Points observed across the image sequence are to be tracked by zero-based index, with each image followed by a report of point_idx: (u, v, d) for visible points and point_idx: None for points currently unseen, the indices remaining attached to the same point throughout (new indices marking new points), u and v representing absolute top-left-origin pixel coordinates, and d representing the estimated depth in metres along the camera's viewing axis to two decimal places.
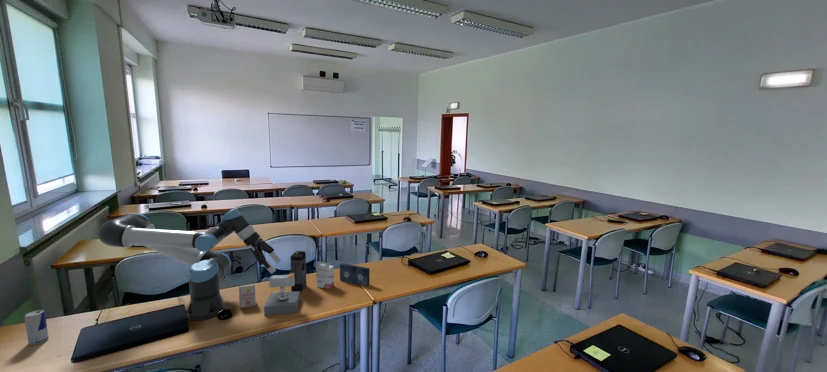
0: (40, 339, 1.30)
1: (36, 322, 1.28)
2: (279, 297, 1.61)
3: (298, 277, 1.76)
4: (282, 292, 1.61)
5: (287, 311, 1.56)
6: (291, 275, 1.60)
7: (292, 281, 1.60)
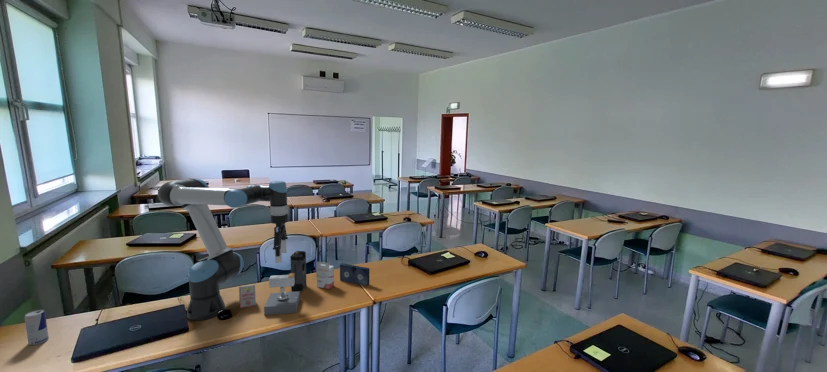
0: (40, 339, 1.30)
1: (36, 322, 1.28)
2: (279, 297, 1.61)
3: (298, 277, 1.76)
4: (282, 292, 1.61)
5: (287, 311, 1.56)
6: (291, 275, 1.60)
7: (292, 281, 1.60)
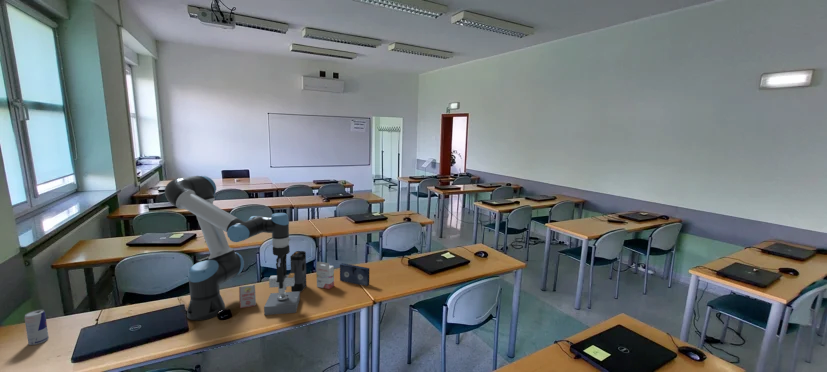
0: (40, 339, 1.30)
1: (36, 322, 1.28)
2: (279, 297, 1.61)
3: (298, 277, 1.76)
4: None
5: (287, 311, 1.56)
6: (291, 275, 1.60)
7: (292, 281, 1.60)
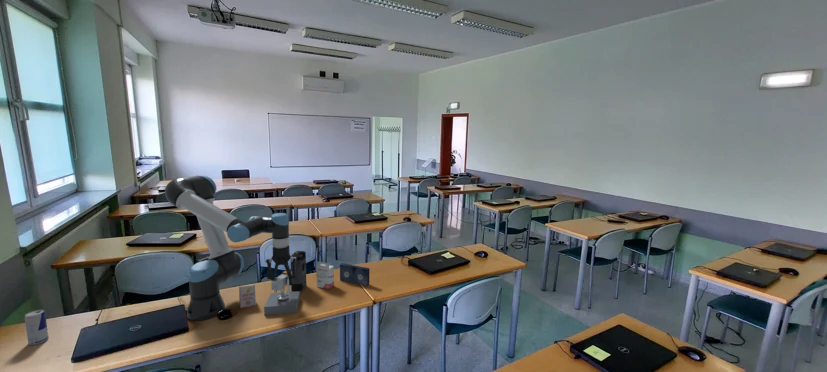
0: (40, 339, 1.30)
1: (36, 322, 1.28)
2: (282, 297, 1.60)
3: (298, 277, 1.76)
4: (284, 291, 1.61)
5: (287, 311, 1.56)
6: None
7: None
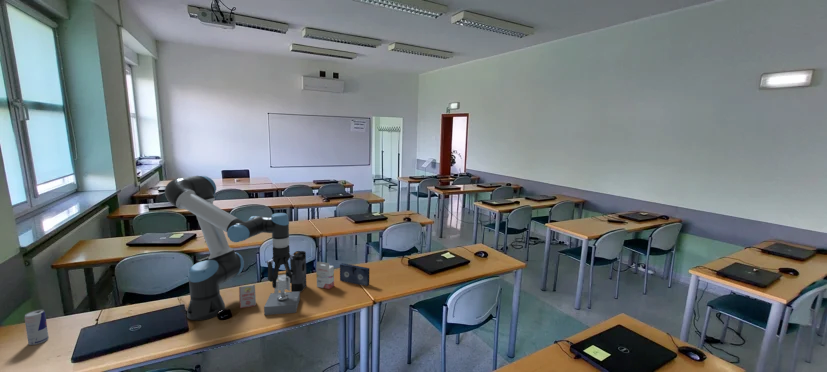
0: (40, 339, 1.30)
1: (36, 322, 1.28)
2: (284, 297, 1.61)
3: (298, 277, 1.76)
4: (284, 291, 1.62)
5: (287, 311, 1.56)
6: (283, 271, 1.65)
7: None
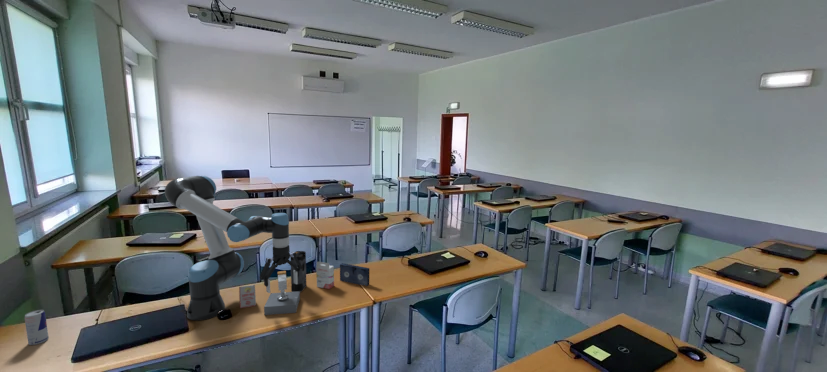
0: (40, 339, 1.30)
1: (36, 322, 1.28)
2: (284, 297, 1.61)
3: (298, 277, 1.76)
4: (284, 291, 1.62)
5: (287, 311, 1.56)
6: (283, 271, 1.65)
7: None
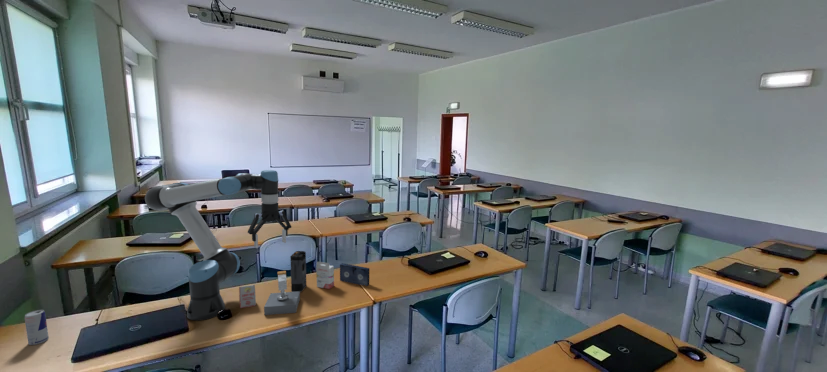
0: (40, 339, 1.30)
1: (36, 322, 1.28)
2: (284, 297, 1.61)
3: (298, 277, 1.76)
4: (284, 291, 1.62)
5: (287, 311, 1.56)
6: (283, 271, 1.65)
7: None
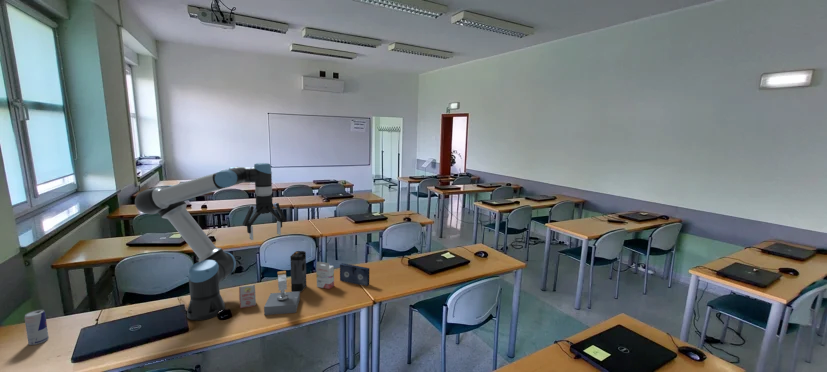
0: (40, 339, 1.30)
1: (36, 322, 1.28)
2: (284, 297, 1.61)
3: (298, 277, 1.76)
4: (284, 291, 1.62)
5: (287, 311, 1.56)
6: (283, 271, 1.65)
7: None
